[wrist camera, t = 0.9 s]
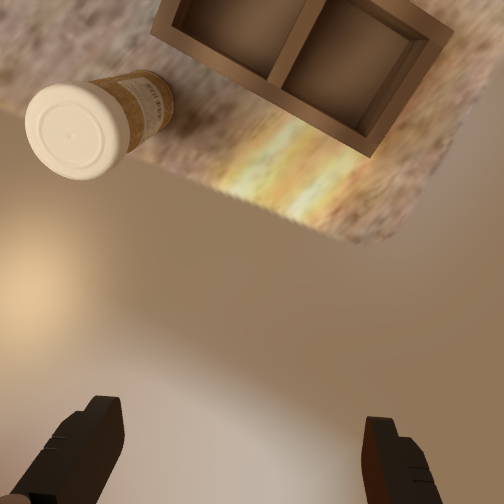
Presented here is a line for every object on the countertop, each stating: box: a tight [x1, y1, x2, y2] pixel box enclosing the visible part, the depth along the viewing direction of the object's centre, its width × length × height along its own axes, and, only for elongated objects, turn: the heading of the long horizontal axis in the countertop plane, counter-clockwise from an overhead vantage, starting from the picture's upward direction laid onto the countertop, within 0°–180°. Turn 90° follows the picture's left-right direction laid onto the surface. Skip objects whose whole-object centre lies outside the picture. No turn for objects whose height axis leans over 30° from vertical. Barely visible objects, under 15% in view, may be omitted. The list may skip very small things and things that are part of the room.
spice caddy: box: [150, 0, 454, 158], centre depth 26 cm, size 16×9×5 cm, turn 62°
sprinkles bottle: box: [25, 70, 174, 180], centre depth 25 cm, size 5×5×14 cm
